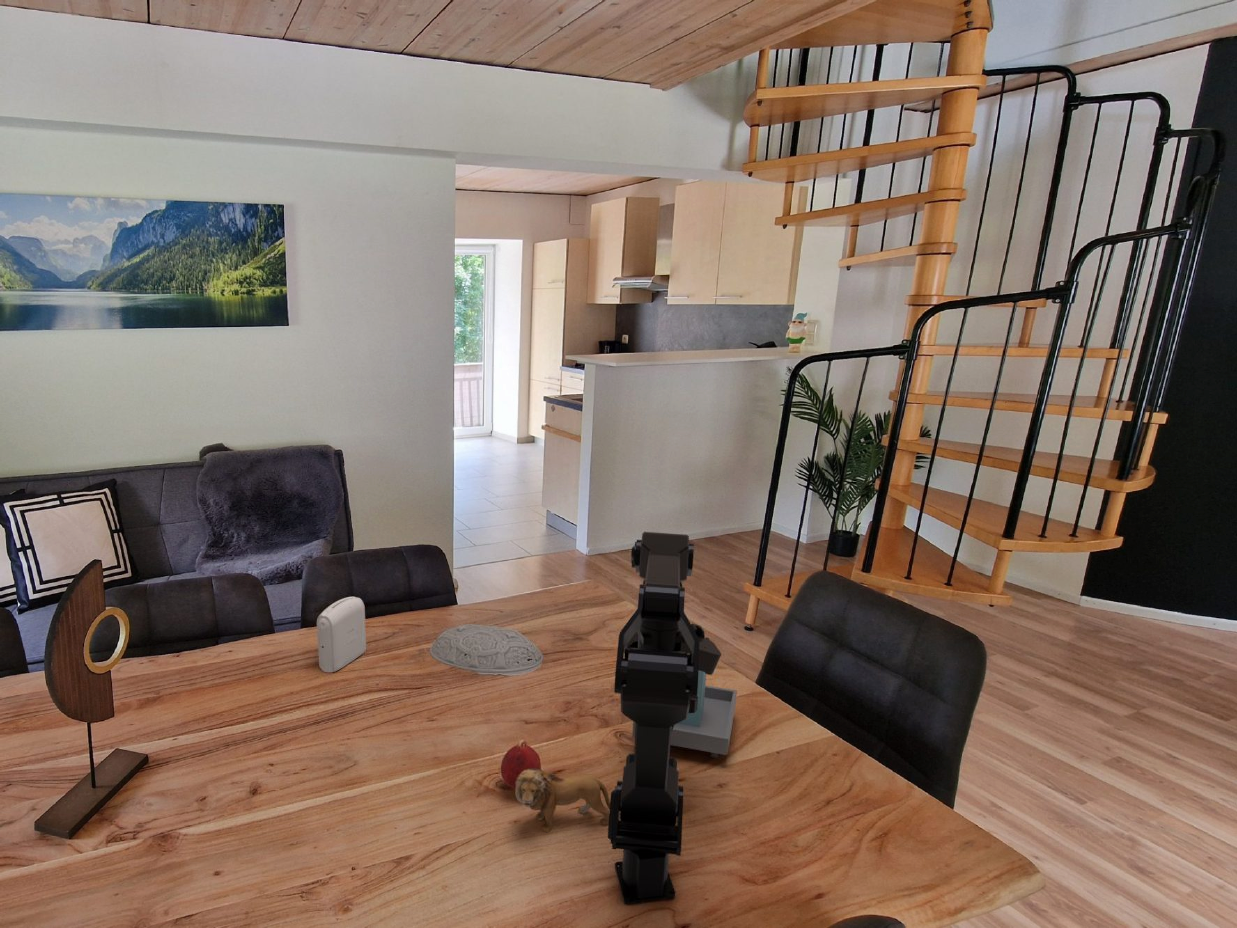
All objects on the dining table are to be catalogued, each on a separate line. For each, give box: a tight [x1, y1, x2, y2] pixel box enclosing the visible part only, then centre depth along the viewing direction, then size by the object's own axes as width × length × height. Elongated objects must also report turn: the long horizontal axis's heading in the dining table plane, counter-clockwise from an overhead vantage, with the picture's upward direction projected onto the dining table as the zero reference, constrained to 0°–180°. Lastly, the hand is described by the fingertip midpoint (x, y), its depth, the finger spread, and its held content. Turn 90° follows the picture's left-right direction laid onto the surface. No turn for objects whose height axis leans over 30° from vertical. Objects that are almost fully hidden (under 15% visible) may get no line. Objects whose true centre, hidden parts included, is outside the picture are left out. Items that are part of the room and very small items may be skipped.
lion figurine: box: [514, 768, 610, 833], centre depth 103 cm, size 15×5×9 cm, turn 110°
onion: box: [500, 739, 542, 790], centre depth 109 cm, size 6×6×8 cm
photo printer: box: [316, 596, 367, 674], centre depth 144 cm, size 10×4×12 cm, turn 160°
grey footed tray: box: [631, 684, 738, 759], centre depth 126 cm, size 15×15×5 cm
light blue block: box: [678, 670, 707, 727], centre depth 124 cm, size 5×5×11 cm
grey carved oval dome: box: [428, 623, 544, 677], centre depth 150 cm, size 16×25×7 cm, turn 76°
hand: (654, 724), depth 105 cm, fingers open, 9 cm apart
